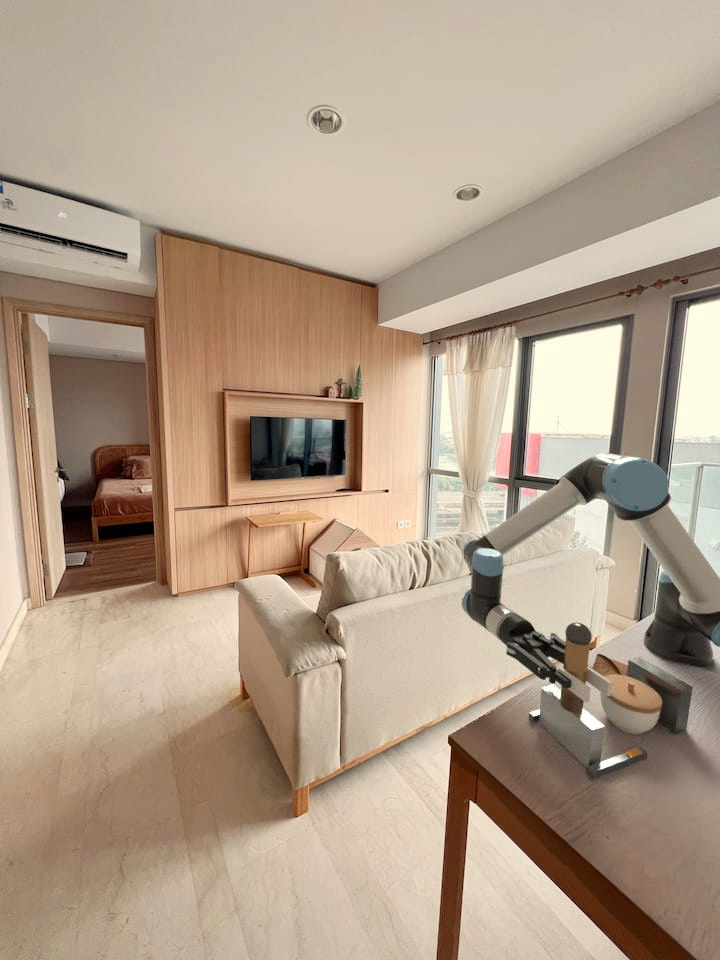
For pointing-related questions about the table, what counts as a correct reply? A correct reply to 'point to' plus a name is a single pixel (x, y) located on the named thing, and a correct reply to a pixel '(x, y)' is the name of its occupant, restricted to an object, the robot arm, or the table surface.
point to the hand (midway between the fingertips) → (599, 692)
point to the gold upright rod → (573, 703)
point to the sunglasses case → (609, 666)
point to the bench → (671, 716)
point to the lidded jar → (631, 704)
